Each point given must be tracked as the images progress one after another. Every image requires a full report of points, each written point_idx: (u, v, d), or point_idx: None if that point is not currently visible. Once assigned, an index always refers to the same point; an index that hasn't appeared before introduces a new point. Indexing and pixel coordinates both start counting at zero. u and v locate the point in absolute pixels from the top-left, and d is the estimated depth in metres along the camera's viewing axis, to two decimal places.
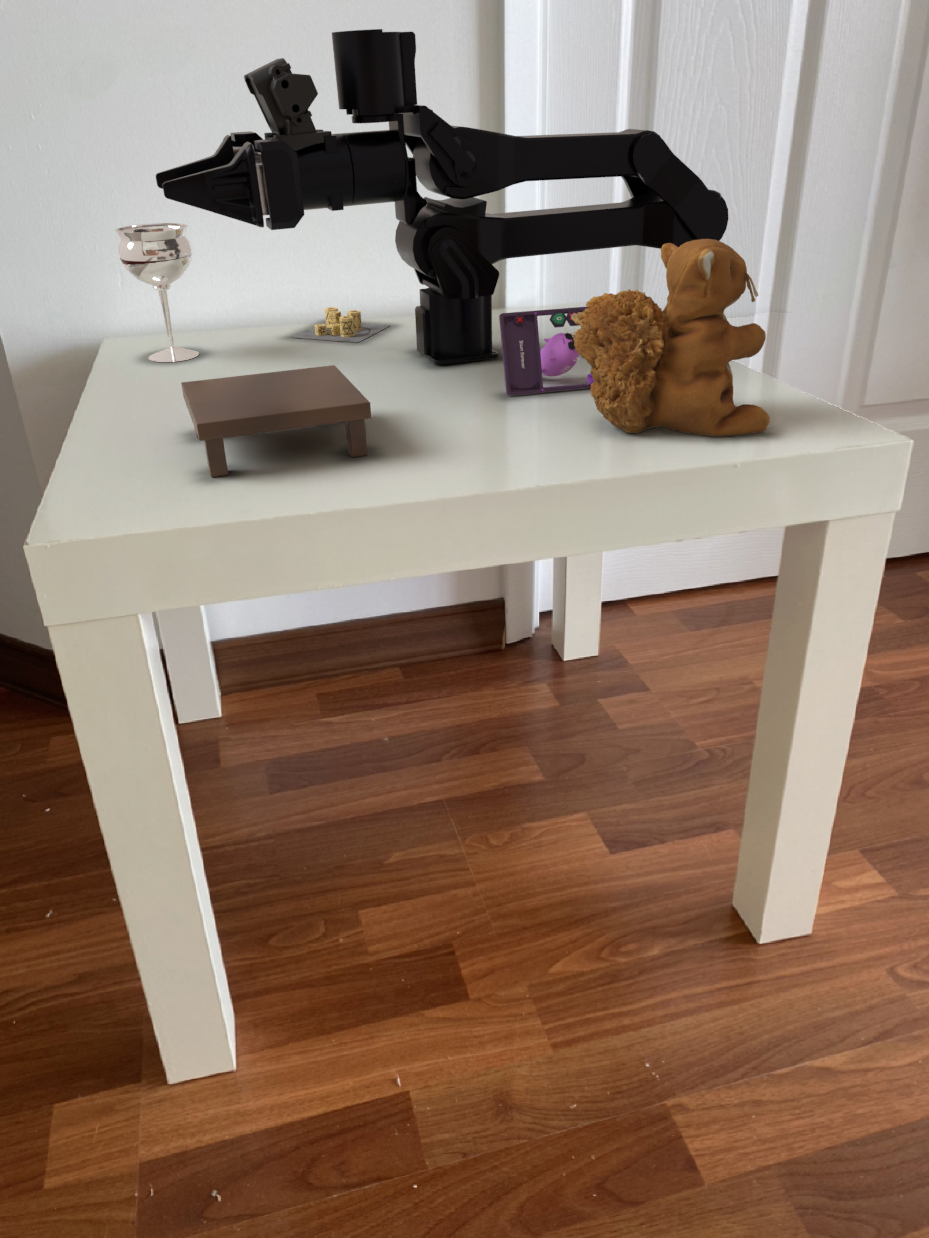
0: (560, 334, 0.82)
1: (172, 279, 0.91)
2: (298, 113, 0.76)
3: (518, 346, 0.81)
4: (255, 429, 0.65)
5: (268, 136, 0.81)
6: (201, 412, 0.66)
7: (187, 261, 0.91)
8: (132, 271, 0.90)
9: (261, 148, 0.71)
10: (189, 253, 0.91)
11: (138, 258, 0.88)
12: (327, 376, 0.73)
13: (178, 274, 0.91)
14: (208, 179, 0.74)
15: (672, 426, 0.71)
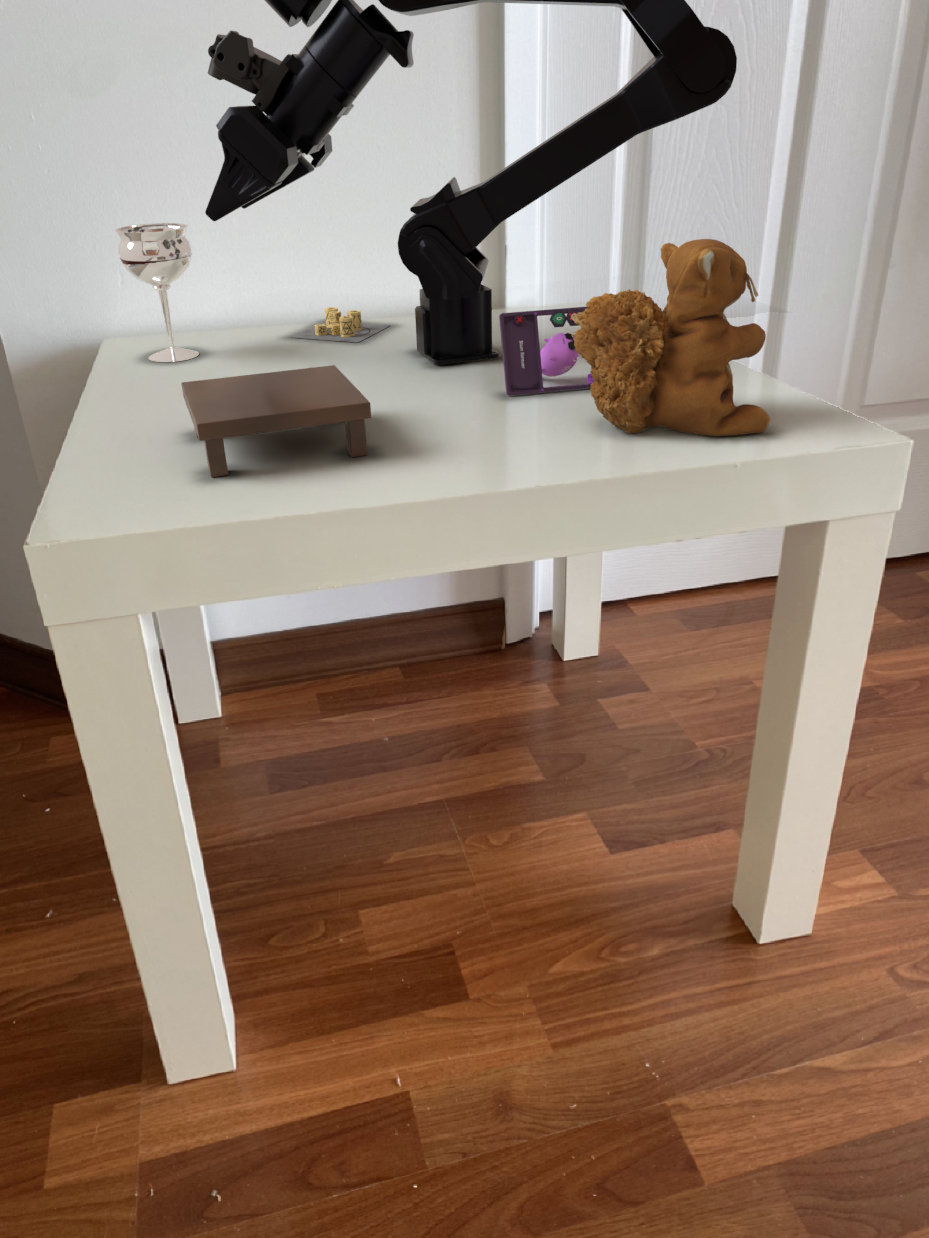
0: (560, 334, 0.82)
1: (172, 279, 0.91)
2: (245, 68, 0.79)
3: (518, 346, 0.81)
4: (255, 429, 0.65)
5: None
6: (201, 412, 0.66)
7: (187, 261, 0.91)
8: (132, 271, 0.90)
9: (218, 129, 0.77)
10: (189, 253, 0.91)
11: (138, 258, 0.88)
12: (327, 376, 0.73)
13: (178, 274, 0.91)
14: (223, 183, 0.82)
15: (672, 426, 0.71)
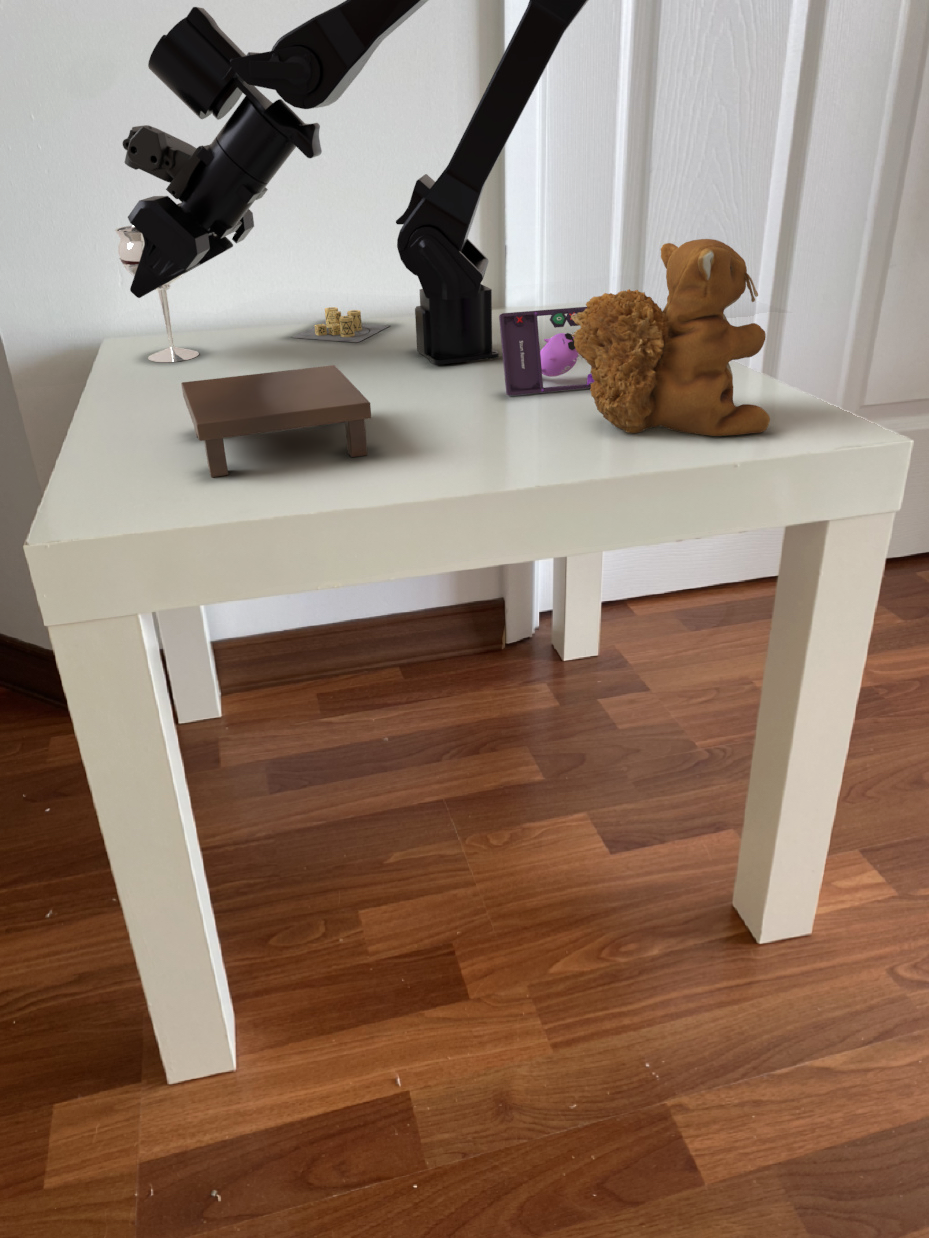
0: (560, 334, 0.82)
1: None
2: (157, 161, 0.83)
3: (518, 346, 0.81)
4: (255, 429, 0.65)
5: None
6: (201, 412, 0.66)
7: None
8: (132, 271, 0.90)
9: (130, 220, 0.81)
10: None
11: (138, 258, 0.88)
12: (327, 376, 0.73)
13: None
14: (144, 264, 0.87)
15: (672, 426, 0.71)
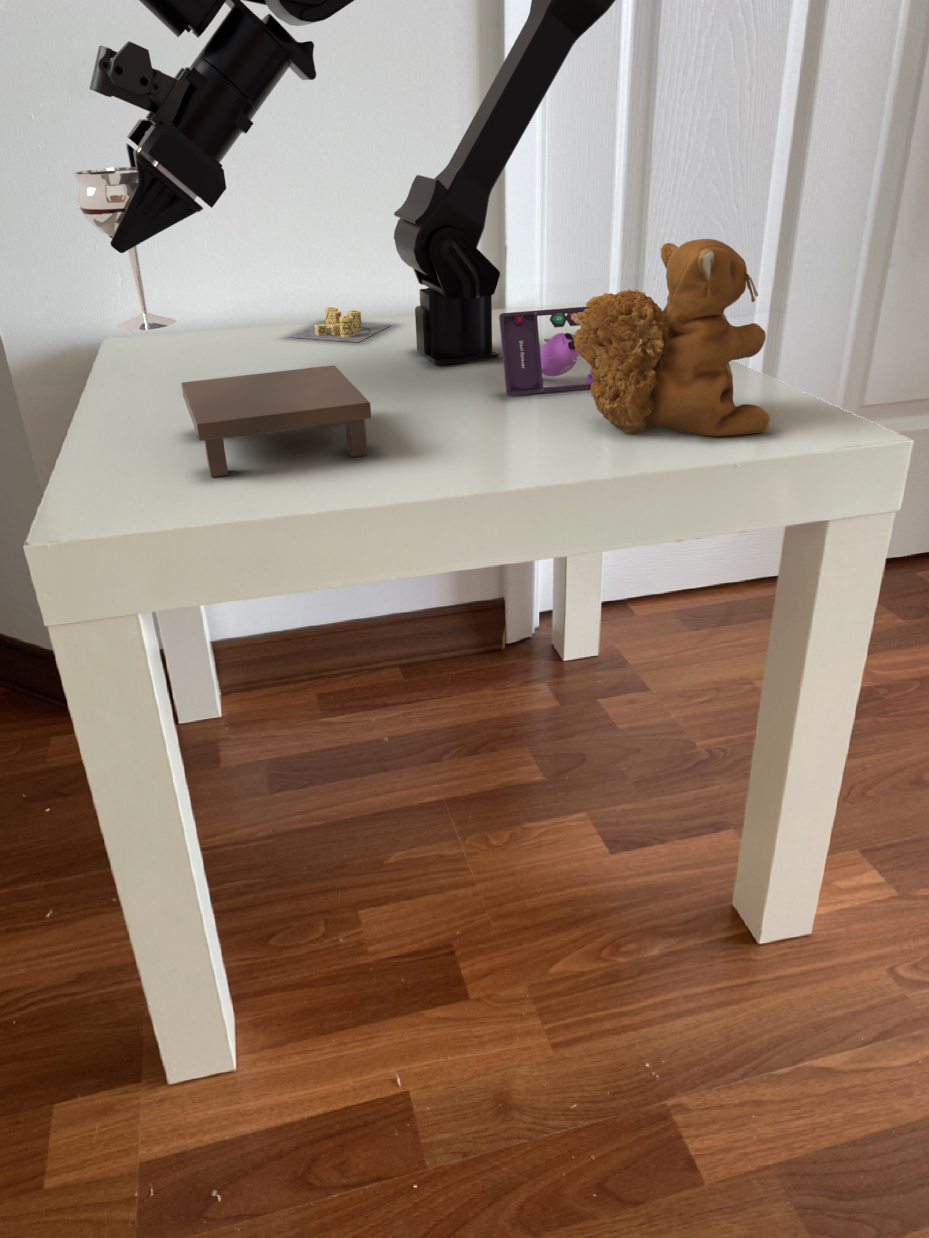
0: (560, 334, 0.82)
1: None
2: (149, 83, 0.71)
3: (518, 346, 0.81)
4: (255, 429, 0.65)
5: (150, 118, 0.77)
6: (201, 412, 0.66)
7: None
8: (107, 222, 0.76)
9: (145, 151, 0.69)
10: None
11: (119, 205, 0.75)
12: (327, 376, 0.73)
13: None
14: (135, 209, 0.74)
15: (672, 426, 0.71)
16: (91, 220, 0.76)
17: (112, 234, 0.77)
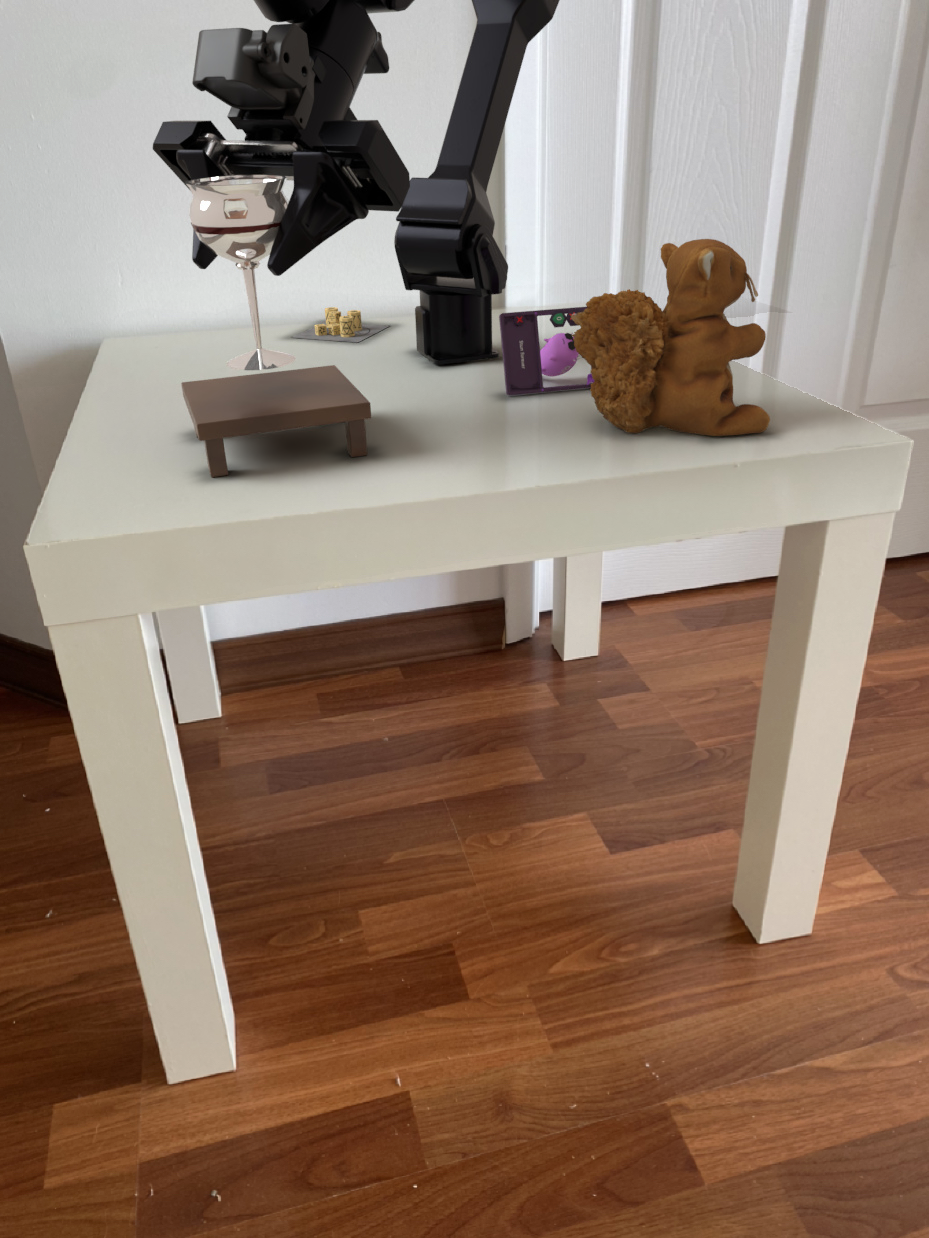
0: (560, 334, 0.82)
1: None
2: (307, 73, 0.61)
3: (518, 346, 0.81)
4: (255, 429, 0.65)
5: (242, 117, 0.65)
6: (201, 412, 0.66)
7: None
8: (256, 241, 0.63)
9: (363, 149, 0.60)
10: None
11: (274, 218, 0.63)
12: (327, 376, 0.73)
13: None
14: (300, 222, 0.63)
15: (672, 426, 0.71)
16: (231, 241, 0.62)
17: (248, 256, 0.64)
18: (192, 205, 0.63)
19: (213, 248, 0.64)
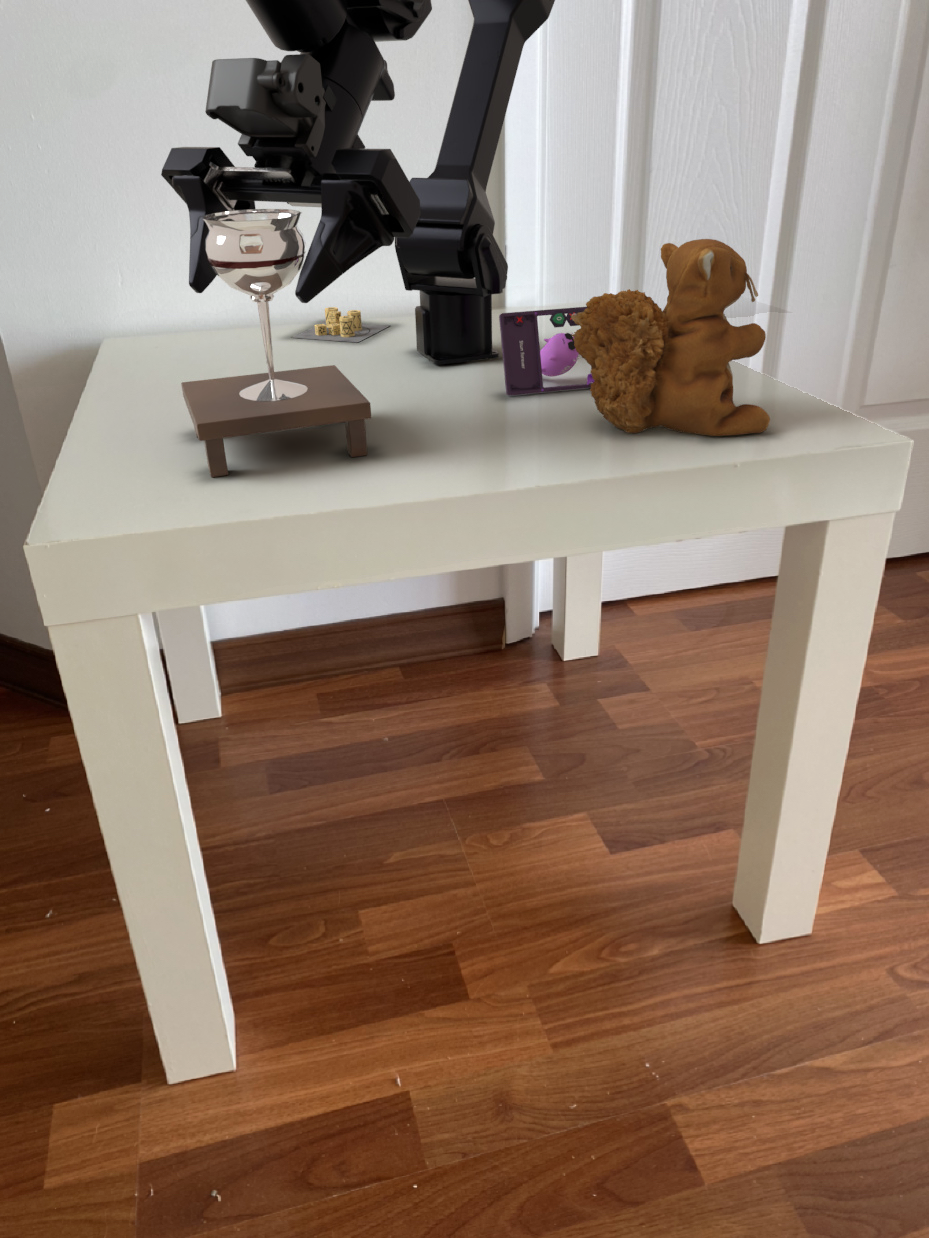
0: (560, 334, 0.82)
1: None
2: (320, 103, 0.62)
3: (518, 346, 0.81)
4: (255, 429, 0.65)
5: (253, 144, 0.65)
6: (201, 412, 0.66)
7: None
8: (273, 275, 0.64)
9: (377, 178, 0.60)
10: None
11: (291, 253, 0.64)
12: (327, 376, 0.73)
13: None
14: (328, 249, 0.63)
15: (672, 426, 0.71)
16: (248, 275, 0.63)
17: (264, 289, 0.65)
18: (209, 240, 0.63)
19: (229, 282, 0.64)
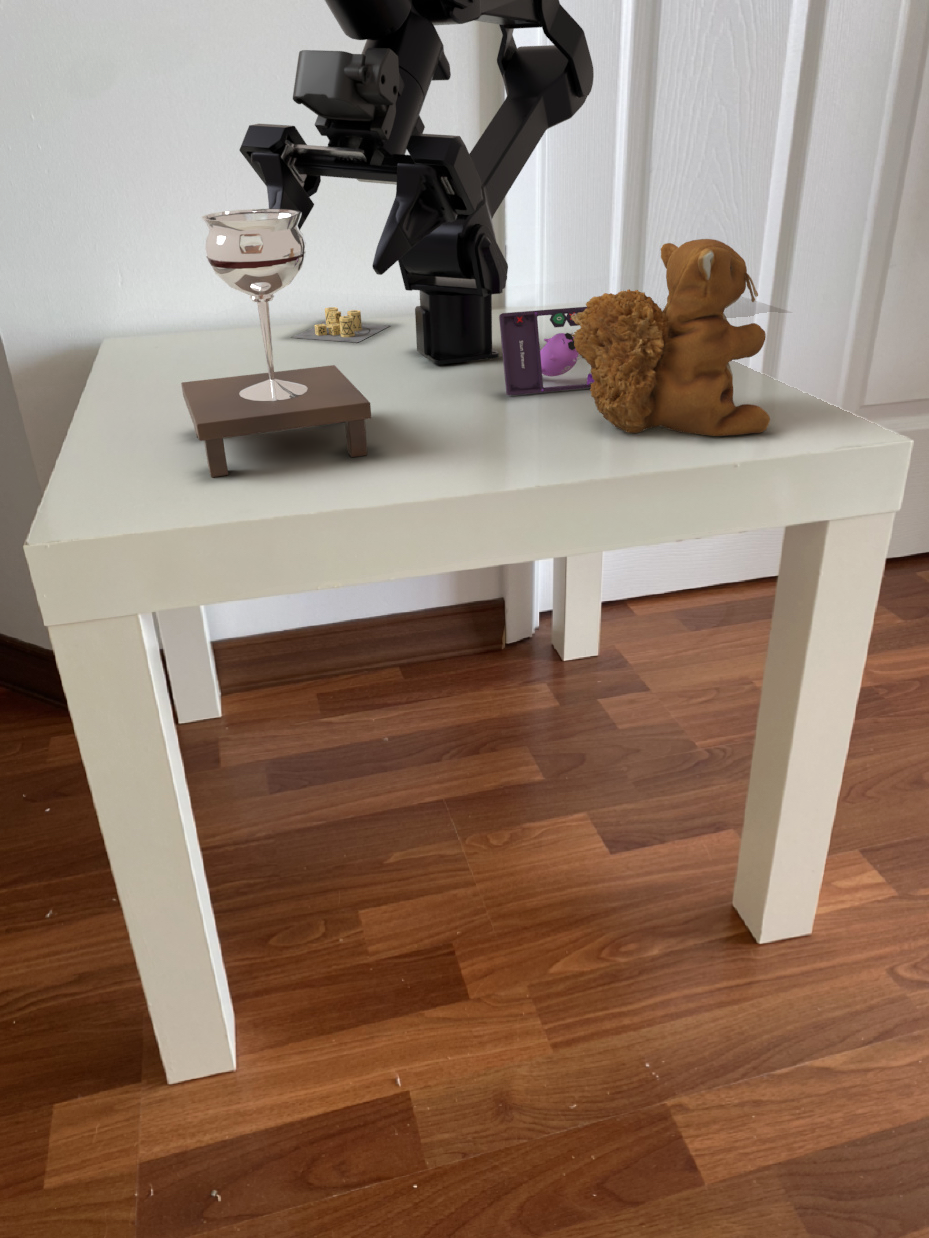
0: (560, 334, 0.82)
1: None
2: (397, 92, 0.68)
3: (518, 346, 0.81)
4: (255, 429, 0.65)
5: (329, 126, 0.72)
6: (201, 412, 0.66)
7: None
8: (273, 275, 0.64)
9: (449, 163, 0.68)
10: None
11: (291, 253, 0.64)
12: (327, 376, 0.73)
13: None
14: (402, 226, 0.70)
15: (672, 426, 0.71)
16: (248, 275, 0.63)
17: (264, 289, 0.65)
18: (209, 240, 0.63)
19: (229, 281, 0.64)
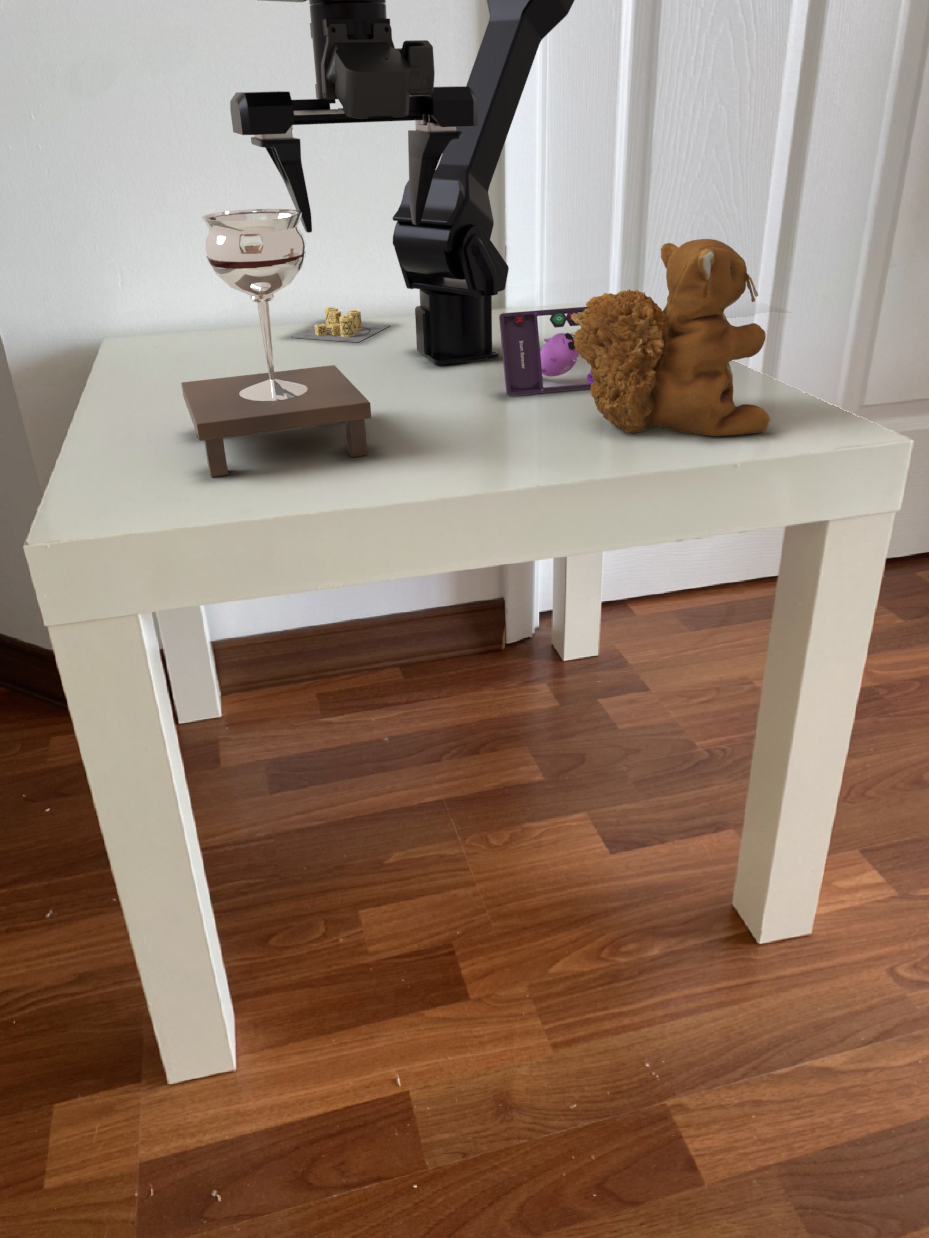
0: (560, 334, 0.82)
1: None
2: None
3: (518, 347, 0.81)
4: (255, 429, 0.65)
5: None
6: (201, 412, 0.66)
7: None
8: (273, 275, 0.64)
9: (475, 124, 0.76)
10: None
11: (291, 253, 0.64)
12: (327, 376, 0.73)
13: None
14: None
15: (672, 426, 0.71)
16: (248, 275, 0.63)
17: (264, 289, 0.65)
18: (209, 240, 0.63)
19: (229, 281, 0.64)
